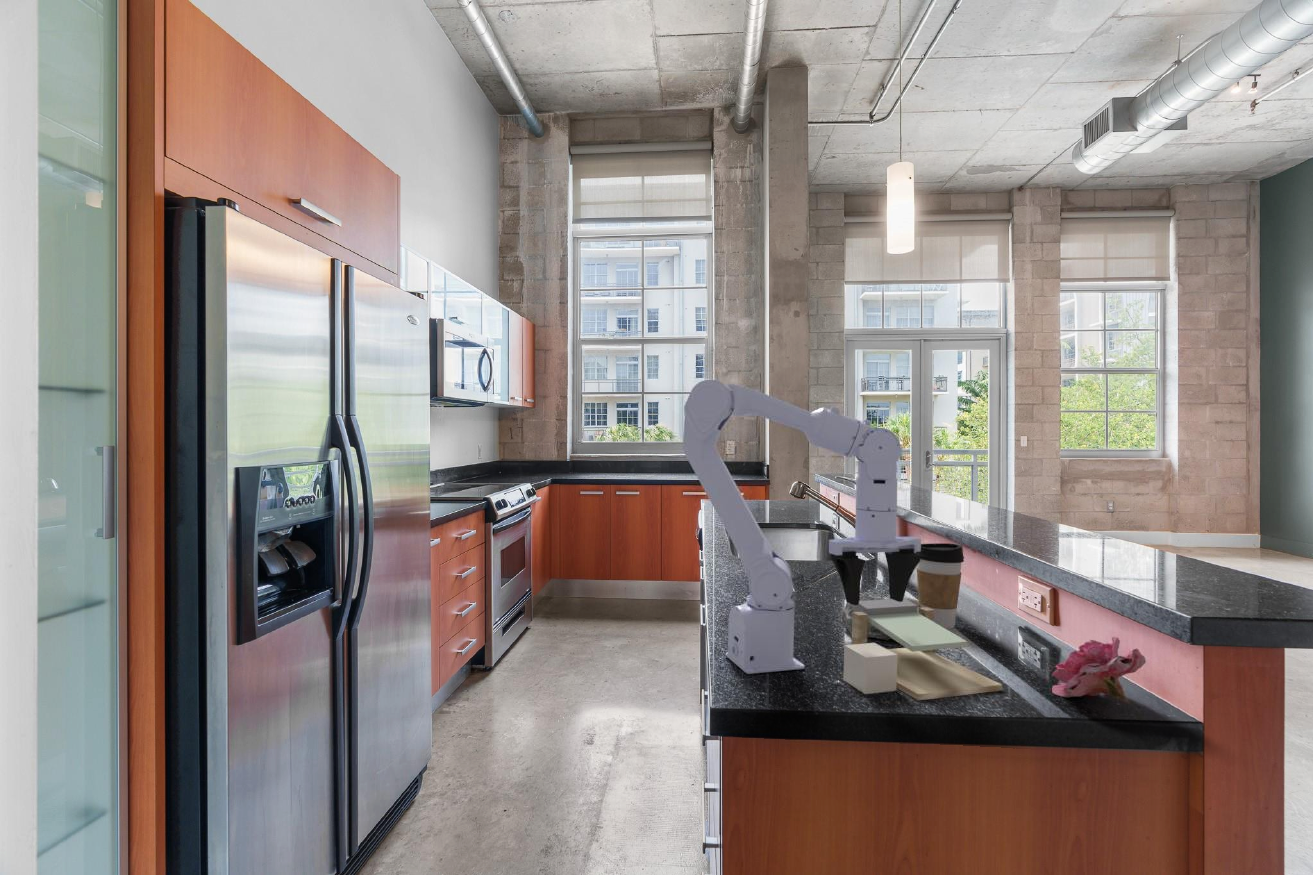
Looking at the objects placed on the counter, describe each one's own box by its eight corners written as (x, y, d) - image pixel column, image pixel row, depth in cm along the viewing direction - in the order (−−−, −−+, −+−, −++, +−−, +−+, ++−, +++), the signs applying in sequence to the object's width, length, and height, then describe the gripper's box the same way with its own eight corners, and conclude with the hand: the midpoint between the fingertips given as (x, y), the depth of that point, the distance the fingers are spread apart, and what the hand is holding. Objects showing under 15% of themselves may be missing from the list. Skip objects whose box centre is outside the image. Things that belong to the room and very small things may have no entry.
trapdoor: (911, 659, 86) (913, 638, 86) (853, 619, 99) (855, 601, 99) (965, 654, 89) (968, 634, 89) (902, 615, 102) (904, 598, 102)
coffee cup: (968, 632, 112) (971, 549, 112) (919, 629, 113) (921, 547, 113) (954, 619, 120) (956, 542, 120) (908, 616, 121) (910, 539, 121)
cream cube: (865, 694, 83) (866, 657, 83) (843, 680, 88) (844, 645, 88) (896, 691, 85) (897, 654, 85) (873, 677, 90) (874, 642, 90)
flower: (1042, 717, 85) (1026, 644, 91) (1117, 727, 85) (1097, 653, 90) (1090, 698, 76) (1069, 618, 82) (1175, 709, 75) (1148, 628, 81)
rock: (840, 640, 107) (935, 654, 102) (842, 602, 106) (937, 615, 102) (841, 618, 119) (927, 630, 114) (843, 584, 118) (929, 595, 114)
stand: (918, 700, 82) (919, 643, 82) (846, 658, 97) (847, 610, 97) (1001, 690, 86) (1003, 636, 86) (920, 651, 101) (921, 605, 101)
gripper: (849, 513, 85) (848, 612, 85) (936, 511, 89) (934, 605, 89) (821, 507, 92) (820, 599, 92) (903, 506, 96) (901, 593, 96)
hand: (874, 601), depth 91 cm, fingers open, 7 cm apart
